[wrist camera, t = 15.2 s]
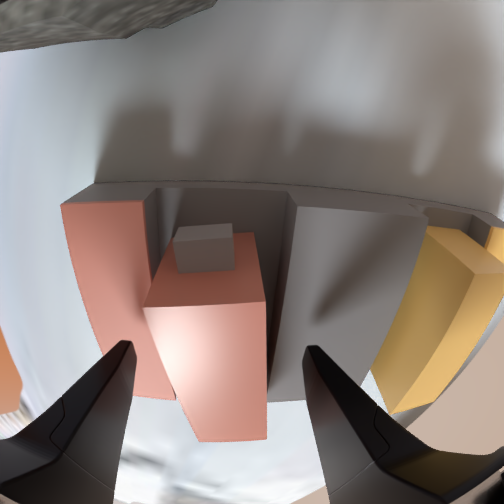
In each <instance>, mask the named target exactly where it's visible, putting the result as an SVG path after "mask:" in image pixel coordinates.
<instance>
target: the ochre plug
mask: <svg viewBox="0 0 504 504" xmlns="http://www.w3.org/2000/svg"><path fill="white" fill-rule="evenodd" d="M503 296H504V264H503V263H502V262H501V261H500V260H498V259H497V258H496V257H495V256H494V255H492V254H491V253H490V252H489V251H487V250H486V249H485V248H483V247H482V246H481V245H480V244H478V243H477V242H476V241H474V240H473V239H472V238H470V237H469V236H468V235H466V234H465V233H463V232H462V231H461V230H459V229H451V228H443V227H435V226H427V229H426V233H425V236H424V239H423V243H422V246H421V249H420V252H419V255H418V258H417V261H416V264H415V267H414V270H413V273H412V275H411V278H410V281H409V284H408V286H407V289H406V291H405V294H404V296H403V299H402V301H401V304H400V306H399V309H398V311H397V313H396V316H395V318H394V320H393V323H392V325H391V327H390V329H389V331H388V334H387V336H386V338H385V340H384V342H383V344H382V346H381V348H380V350H379V352H378V354H377V356H376V358H375V360H374V362H373V364H372V366H371V368H370V370H371V372H372V375H373V377H374V379H375V381H376V384H377V386H378V388H379V391H380V393H381V395H382V398H383V400H384V402H385V405H386V407H387V410H388V412H389V414H390V415H391V414H395V413H399V412H402V411H406V410H409V409H412V408H416V407H419V406H422V405H425V404H428V403H431V402H434V401H435V400H436V398H437V397H438V396H439V395H440V394H441V392H442V391H443V390H444V389H445V387H446V386H447V385H448V383H449V382H450V381H451V380H452V378H453V377H454V376H455V374H456V373H457V372H458V370H459V369H460V367H461V366H462V365H463V363H464V362H465V360H466V359H467V357H468V356H469V354H470V353H471V351H472V350H473V348H474V347H475V345H476V344H477V342H478V341H479V339H480V337H481V336H482V334H483V332H484V331H485V329H486V327H487V326H488V324H489V322H490V320H491V318H492V317H493V315H494V313H495V311H496V309H497V307H498V305H499V304H500V302H501V300H502V298H503Z"/></svg>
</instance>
